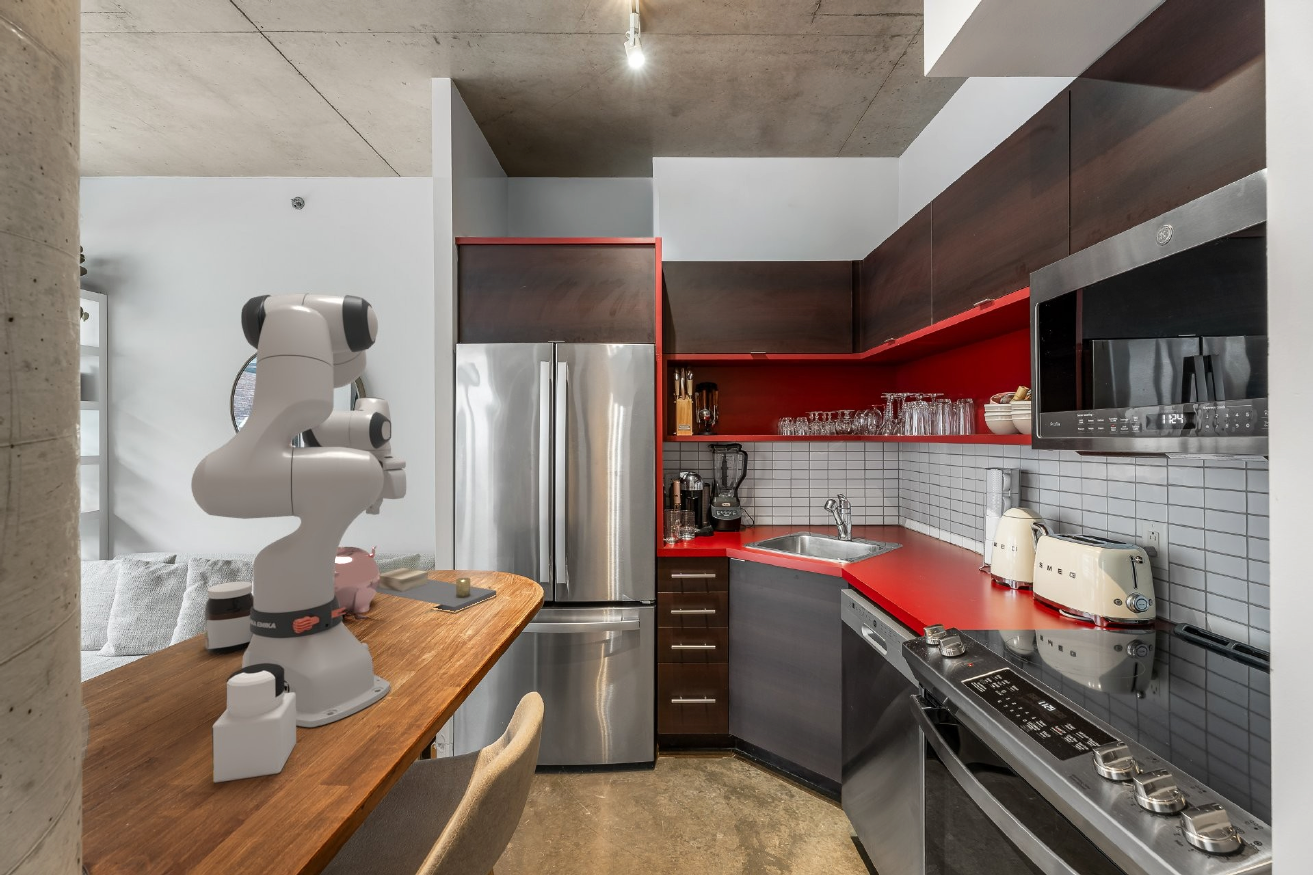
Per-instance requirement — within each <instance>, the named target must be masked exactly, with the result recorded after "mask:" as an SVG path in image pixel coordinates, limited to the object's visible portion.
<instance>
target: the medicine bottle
mask: <svg viewBox="0 0 1313 875" xmlns="http://www.w3.org/2000/svg"><path fill="white" fill-rule="evenodd" d="M225 682H226V710H224V712H223V713H222V714H221V716H219V717H218V718H217V720H216V721H215V722H214V723H213V725H212V733H211V734H212V736H211V737H212V781H213V783H222V782H229V781H235V780H243V779H248V778H255V777H262V776H269V775H275V774H279V773H280V772H281V771H282V770H283V767H285V766H284V765H285V764H286V762H287V760H288V758H290V755H291V753H292V752H293V749H294V747H295V746H296V744H297V725H296V694H295V693H294V692H292V693H284V668H283V667H282V666H280V665H278V664H271V663H261V664H255V665H251V666H247V667H244V668H242V667H241V668H239V669H238V670H236V671H235V672H232V673H231V674H230V675H229V676H228V678H227V679H226V681H225Z"/></svg>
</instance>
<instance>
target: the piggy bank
mask: <svg viewBox="0 0 1313 875" xmlns="http://www.w3.org/2000/svg"><path fill="white" fill-rule="evenodd" d="M376 549H377V545H375V546H372V548H371V553H369V552H368V551H366V550H365V549H364V548H363V549H362V548H360V547H354V546H339V547H338V550H337V555H336V564H335V579H334V595H335V596H336V597H337V600H338V603H339V604H340V608H343V607H345V608H346V609H344V610H343V611H341V613H346V614H344V615H342V617H343V616H346V615H350V614H351V615H352V614H353V618H354V620H358V621H359V620H366V619H368V618H369V616H365V615H361V614H362V613H367V612H368V611H370V610H371V609H370V604H371V602H372V600H373V598H374V597H375V595H376V593H378V592H377V589H378V586H379V582H380V574H381V573H380V568H379V566H378V563H377V562H376V560H375V558H374V557H375V555H376Z"/></svg>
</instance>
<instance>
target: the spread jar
mask: <svg viewBox="0 0 1313 875" xmlns="http://www.w3.org/2000/svg"><path fill="white" fill-rule="evenodd" d="M252 591H253V584H252V582H250V581H230V582H225V583H220V584H216V585H213V586H210V587H208V588H207V598H208V599H207V600H206V604H205V607H204V608H205V609H204V630H205V632H204V638H205V642H204V643H205V644H204V645H205V649H206V651H207V653H209V654H210V655H228V654H233V653H238V652H241V651H245V650H247V648H248V646H249V644H250V641H251V639H252V636H253V633H252V632H251V631H250V622H249V616H250V609H251V607H252V606H253V605H254V604H253V593H252Z"/></svg>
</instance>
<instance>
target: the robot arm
mask: <svg viewBox="0 0 1313 875" xmlns="http://www.w3.org/2000/svg"><path fill="white" fill-rule="evenodd" d="M240 315H241V317H240V320H241V321H240V324H241V329H242V331H243V334H244V338H245V340H246V341H247V343H248V344H249V345H250V346H252V348H254V349H255V350H256V351H257V353H256V365H255V383H254V392H253V400H252V405H251V410H250V412H249V415H248V417H247V419H246V420H245V423H244V424H243V425H242V427H241V428H240V430H238V431H237V433H236V434H235V435H234V436H232V438H231V439H230V440H229V441H227V442H226V443H225V444H223V445H222V446H220V447H219V448H217V449H215V450H214V451H212V452H210V453H208V454H207V455H205V457H204V458H202V459H201V460H200V462H199V463H198V464H197V466H196V467H195V468H194V471H193V473H192V477H191V483H190V484H191V487H190V488H191V493H192V497H193V498H194V500H195V503H196V504H197V505H198V506H199V508H200V509H201V510H202V511H204V512H205V513H206V514H207V515H209V516H214V517H221V518H222V517H223V518H229V519H230V518H231V519H242V520H245V519H246V520H247V519H248V520H249V519H262V518H265V519H266V518H267V519H268V518H279V517H296V518H299V519H300V524H299V525H298V527H297V529H296V530H294V531H293V532H291V533H290V534H287V535H285V536H283V537H281V538H279V539H277V540H275V541H274V542H271V543H269V544H268V545H267V546H265V547H264V548H262V549H261V550H260V551H259V552H258V554H257V555H256V556H255V559H254V560H253V564H252V576H253V577H252V578H253V581H252V582H253V584H252V591H253V593H252V595H253V604H254V605H253V606H252V607H251V609H250V616H249V622H250V631H251V632H252V633H253V636H252V639H251V641H250V644H249V646H248V648H247V649H245V650H244V654H243V656H242V665H241V669H242V668H244V667H247V666H251V665H255V664H261V663H271V664H278V665H280V666H282V667H283V668H284V693H292V692H294V693H295V694H296V726H298V727H305V728H315V727H319V726H323V725H326V724H330V723H332V722H336V721H339V720H342V719H343V718H345V717H346V718H347V717H348V716H351V715H353V714H355V713H357V712H359V711H361V710H363V709H365V708H367V707H370V706H371V705H373V704H374V703H376V702H377V701H379V700H380V699H381V698H383V697H384V696H386V695H387V694H388V693H389V692H390V690H391V683H390V681H388V680H386V679H384V678H382V677H380V676H379V675H376V674H374V673H375V672H374V671H375V670H374V662H373V658H372V655H371V653H370V648H369V645H368V644H367V643H366V642H360V641H359V639H358V638H357V637H356V636H355V635H354V633H352V632H351V631H350V630H349V628H347V626H346V625H345V623H343V619H344V618H343V616H345V615H344V614H346V613H341V611H343V610H344V609H346V608H345V607H343V608H340V604H339V603H338V600H337V597H336V596H335V595H334V579H335V564H336V555H337V550H338V547H340V544H341V542H342V538H343V537H344V534H345V533H346V532H347V530H348V528H349V526H351V524H352V523H353V522H354V521H355V520H356V519H357V518H358V517H359V515H361V514H362V513H364V511H365V513H366V515H373V516H374V515H375V516H376V515H379V514H380V513H381V512H380V508H381V505H382V504H383V502H384V499H388V500H400V499H403V498H404V497H405V496H406V494H407V474H406V471H405V470H404V469H406V466H407V462H406V460H405V459H403V458H401V457H399V456H398V455H396V454H394V453H392V447H391V443H390V440H391V438H392V422H391V412H390V406H389V403H388V401H387V400H385V399H384V398H380V397H375V396H372V397H371V396H369V397H368V396H366V397H365V396H364V397H360V398H357V399H356V400H355V405H354V410H334V407H335V406H334V398H335V396H334V390H335V389H339V388H343V387H346V386H348V385H351V384H352V383H354V382H355V381H356V380H357V379H358V378H359V377H361V375H362V374H363V373H364V371H365V369H366V366H367V352H366V351H367V350H369V349H370V348H371V347H372V346H373V345H374V344H375V343H376V340H377V339H376V338H377V335H378V331H379V330H378V329H379V323H378V319H377V315H376V313H375V311H374V309H373V306H372V304H370V302H368V300H366V299H365V298H363V297H360V296H355V295H351V294H350V295H349V294H345V296H342V295H331V294H320V293H319V294H317V293H316V294H315V293H314V294H313V293H307V292H306V293H289V294H287V293H286V294H278V295H271V294H263V295H257V296H254V297H252V298H249V300H248V301H247V302H246V303H244V305H243V306H242V309H241V313H240ZM299 434H301V437H302V441H303V443H304V444H305V445H306V446H301V447H300V446H296V447H295V446H291V442H292V441H293V440H294V439H295V438H296V437H297V436H298V435H299ZM307 446H308V447H307ZM342 615H343V616H342Z"/></svg>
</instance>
